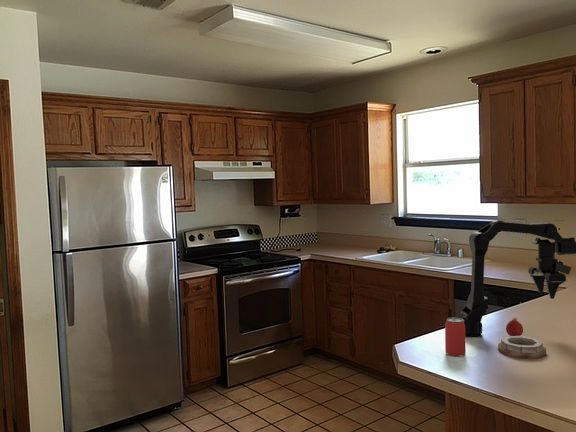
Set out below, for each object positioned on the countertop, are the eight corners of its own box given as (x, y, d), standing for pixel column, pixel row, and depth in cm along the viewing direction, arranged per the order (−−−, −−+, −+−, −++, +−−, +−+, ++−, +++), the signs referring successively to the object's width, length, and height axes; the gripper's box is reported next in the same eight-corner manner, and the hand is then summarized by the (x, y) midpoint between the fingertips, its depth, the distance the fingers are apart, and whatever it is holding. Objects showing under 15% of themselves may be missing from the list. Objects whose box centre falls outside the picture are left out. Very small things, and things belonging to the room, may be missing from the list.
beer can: (461, 350, 172) (460, 316, 171) (468, 356, 165) (468, 321, 165) (442, 351, 172) (442, 317, 171) (449, 357, 165) (449, 322, 165)
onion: (513, 342, 179) (513, 320, 179) (502, 337, 185) (502, 316, 184) (526, 340, 181) (526, 318, 180) (515, 335, 186) (515, 315, 186)
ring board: (507, 358, 162) (507, 348, 162) (491, 344, 177) (491, 335, 177) (554, 358, 161) (554, 348, 161) (534, 344, 176) (534, 334, 176)
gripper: (581, 258, 176) (581, 301, 177) (556, 251, 195) (556, 290, 196) (549, 259, 177) (549, 301, 178) (527, 252, 196) (528, 291, 196)
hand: (546, 295), depth 187 cm, fingers open, 9 cm apart
